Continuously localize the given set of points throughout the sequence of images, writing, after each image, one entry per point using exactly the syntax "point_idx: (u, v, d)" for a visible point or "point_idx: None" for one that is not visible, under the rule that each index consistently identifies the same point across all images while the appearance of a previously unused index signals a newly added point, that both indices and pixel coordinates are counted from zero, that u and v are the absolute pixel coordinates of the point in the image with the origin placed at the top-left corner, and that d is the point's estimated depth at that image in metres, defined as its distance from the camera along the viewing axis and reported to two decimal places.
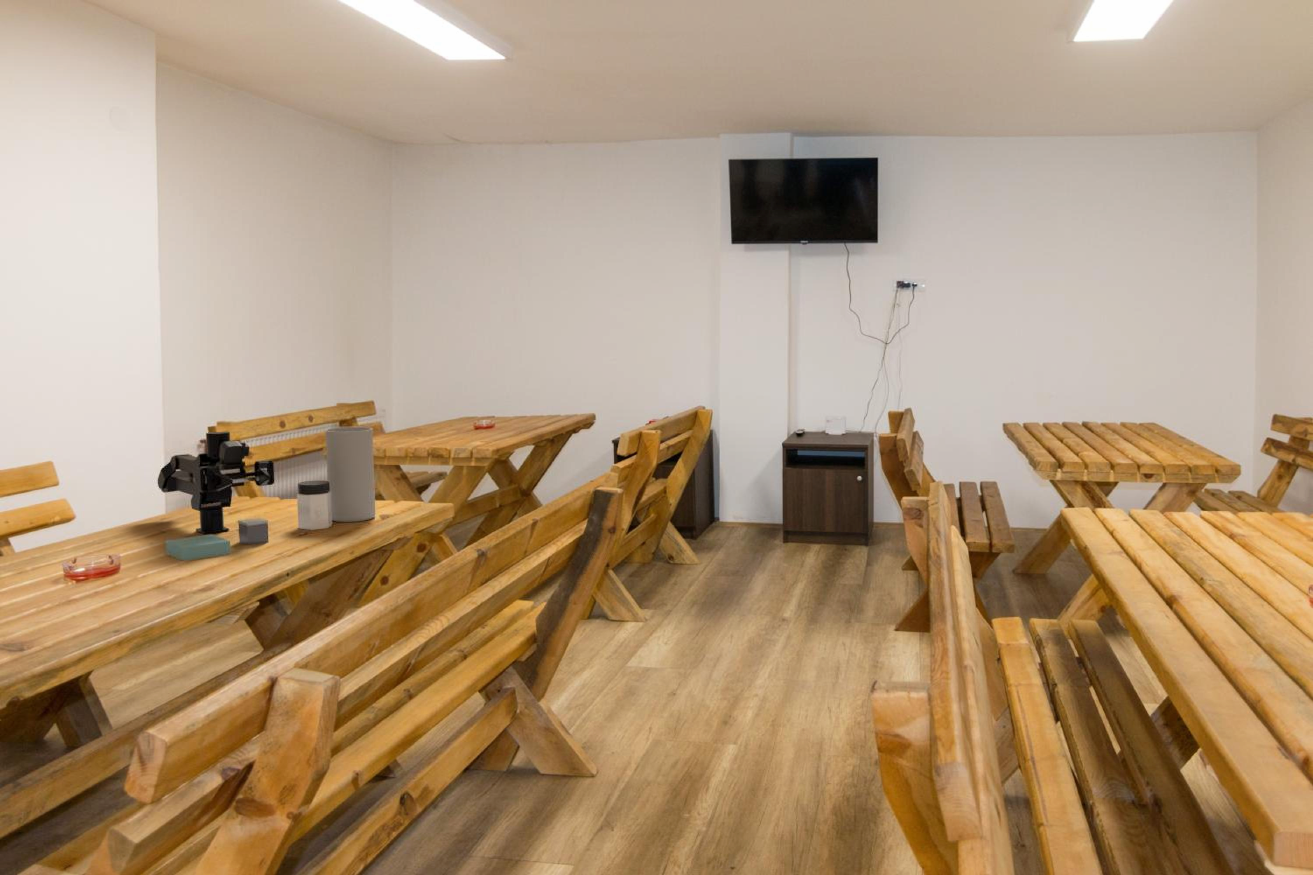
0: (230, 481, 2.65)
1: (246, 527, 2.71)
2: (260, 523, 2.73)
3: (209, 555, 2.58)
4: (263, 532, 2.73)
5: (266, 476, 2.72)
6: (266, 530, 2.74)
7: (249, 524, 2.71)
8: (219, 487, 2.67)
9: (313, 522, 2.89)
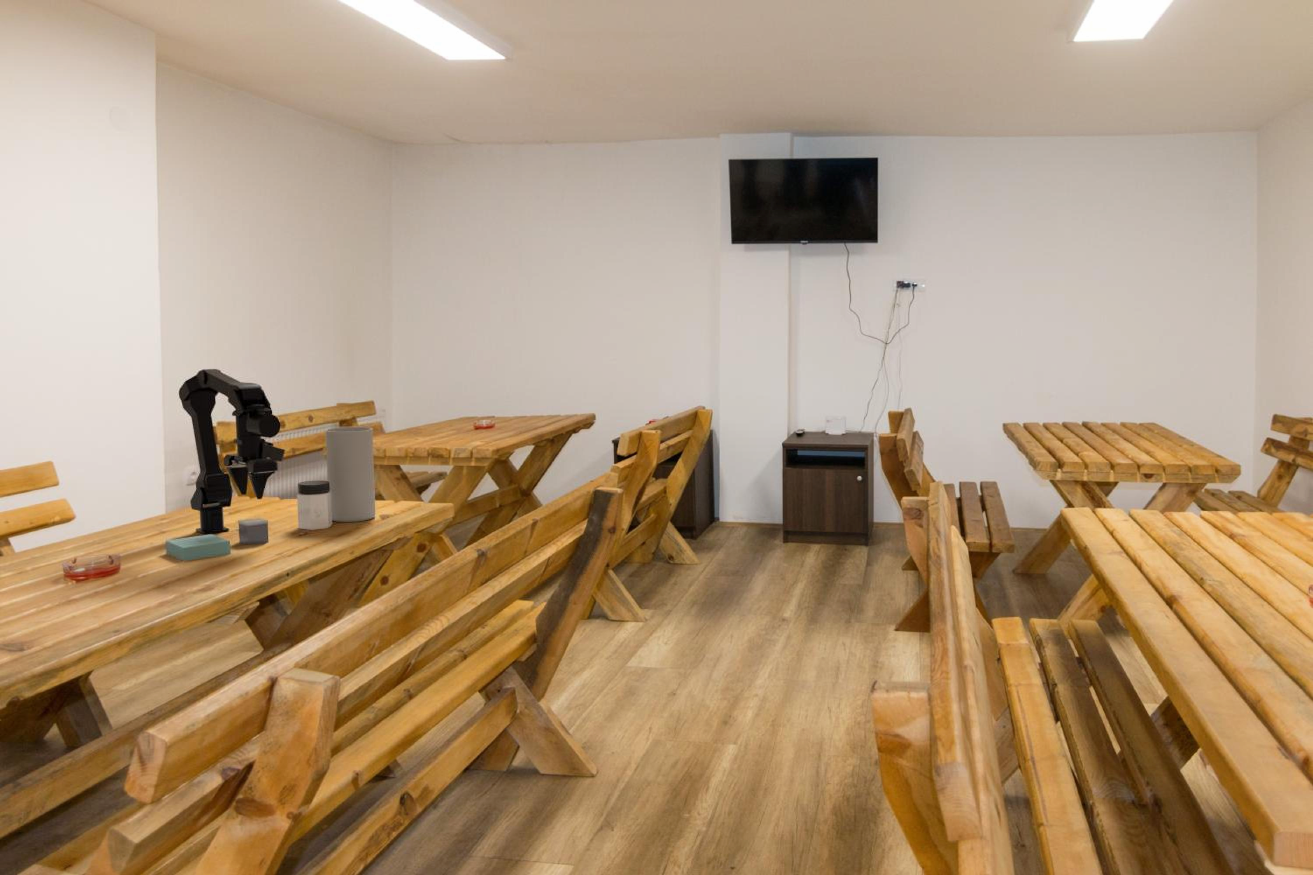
0: (260, 498, 2.70)
1: (246, 527, 2.71)
2: (260, 523, 2.73)
3: (209, 555, 2.58)
4: (263, 532, 2.73)
5: (245, 491, 2.76)
6: (266, 530, 2.74)
7: (249, 524, 2.71)
8: (254, 483, 2.67)
9: (313, 522, 2.89)
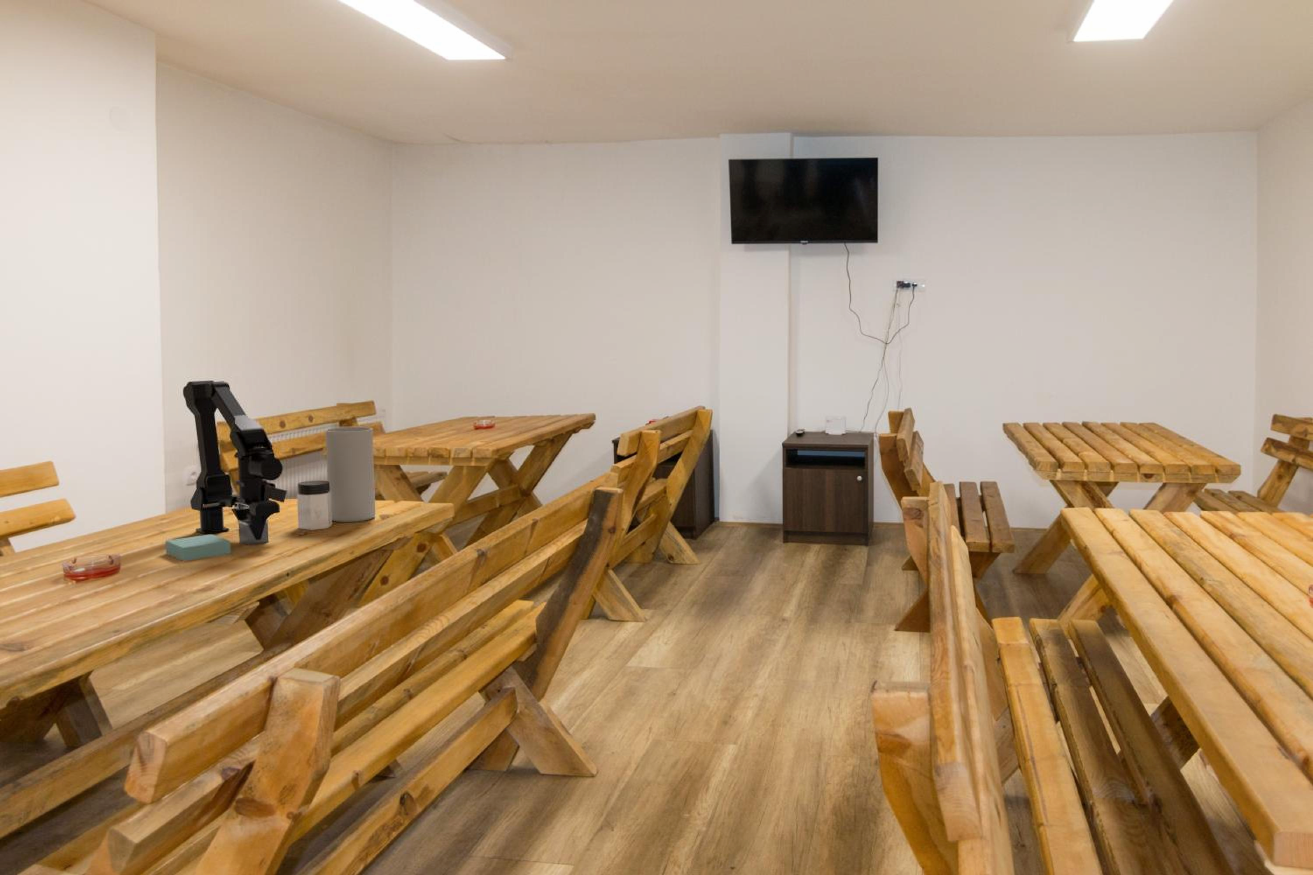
0: (259, 538, 2.72)
1: (246, 527, 2.71)
2: None
3: (209, 555, 2.58)
4: (263, 532, 2.73)
5: None
6: (266, 530, 2.74)
7: (249, 524, 2.71)
8: (253, 524, 2.70)
9: (313, 522, 2.89)
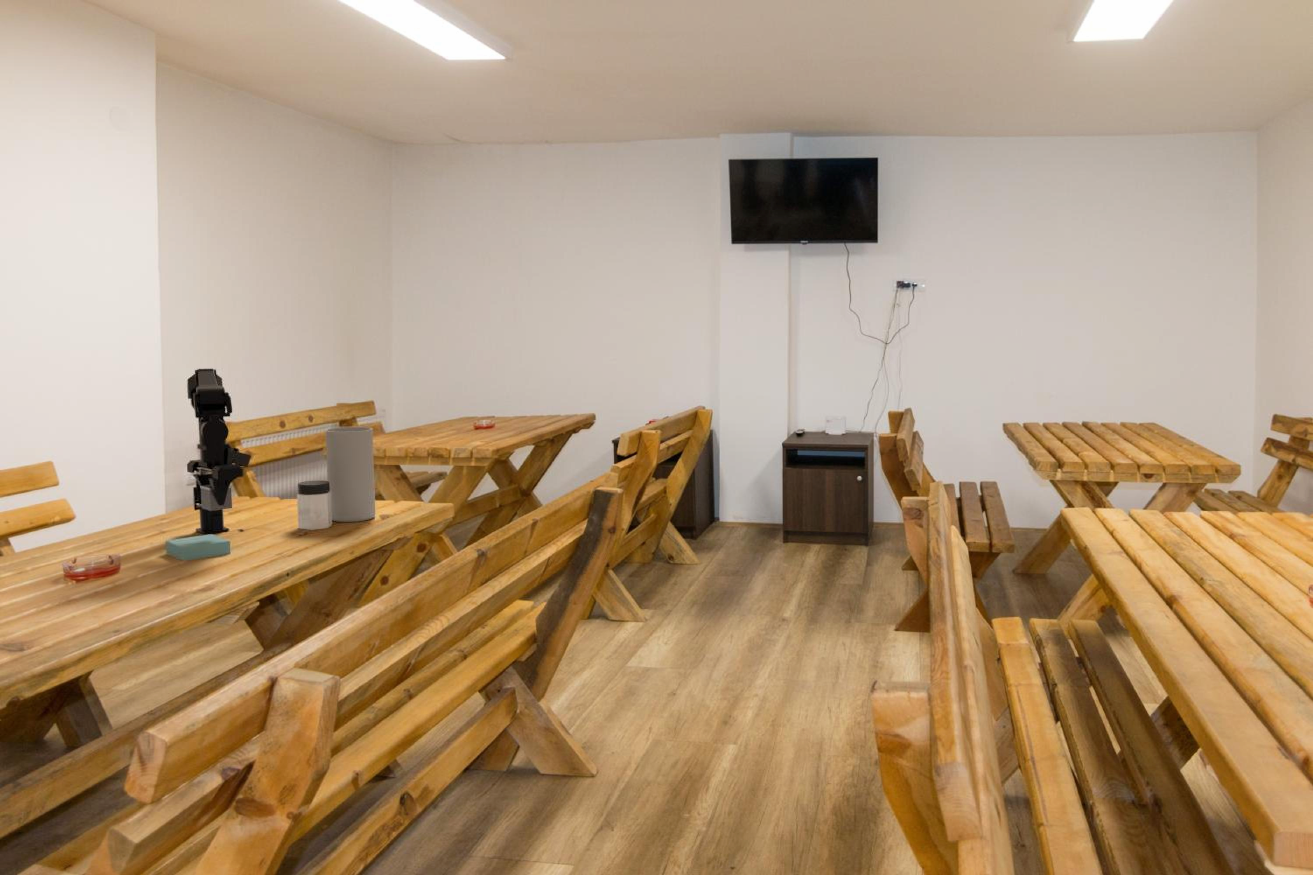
0: (222, 504, 2.63)
1: (208, 492, 2.61)
2: None
3: (209, 555, 2.58)
4: (226, 497, 2.64)
5: None
6: (229, 495, 2.64)
7: None
8: (216, 489, 2.60)
9: (313, 522, 2.89)
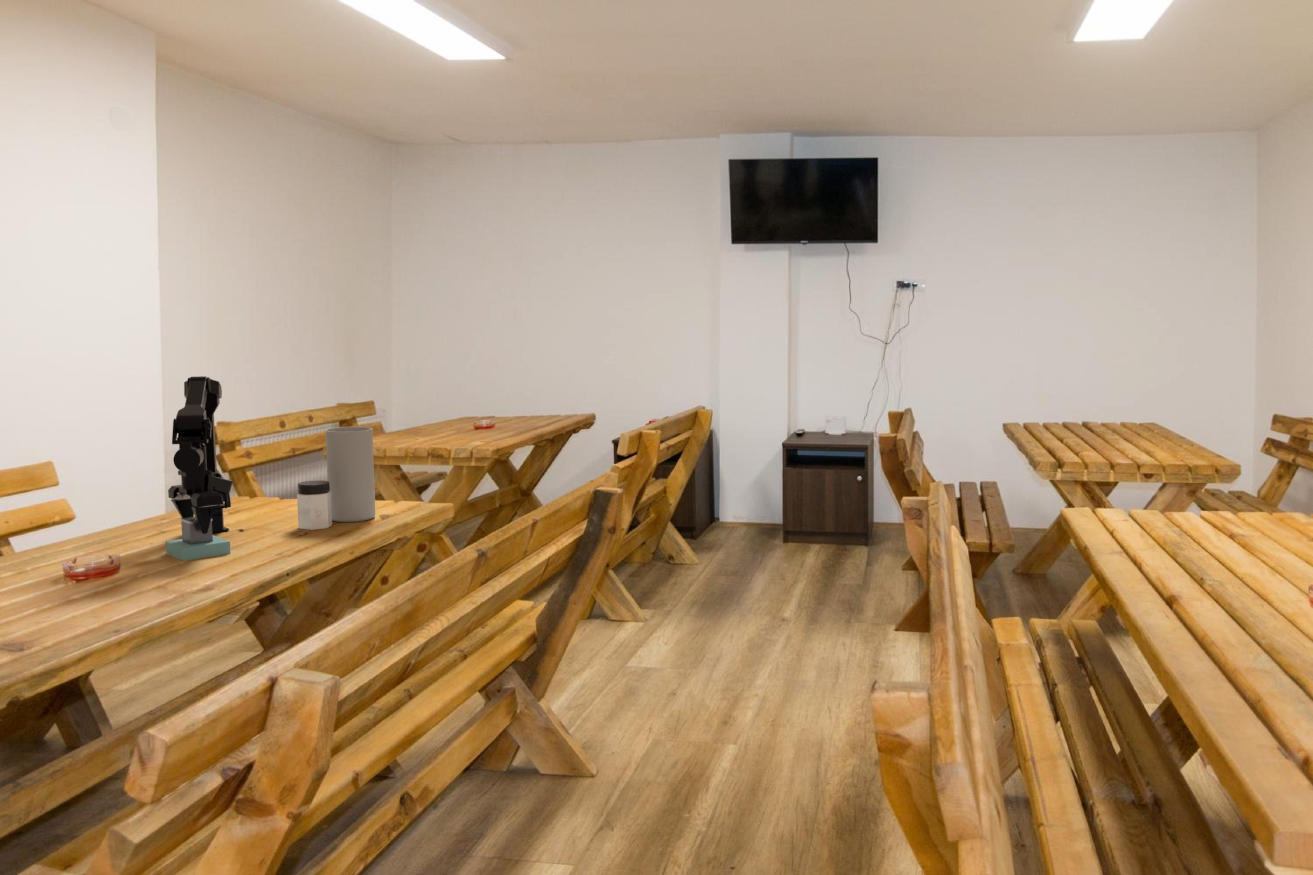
0: (205, 532, 2.58)
1: (188, 525, 2.58)
2: None
3: (209, 556, 2.58)
4: None
5: None
6: (210, 529, 2.61)
7: (192, 522, 2.58)
8: (198, 517, 2.55)
9: (313, 522, 2.89)
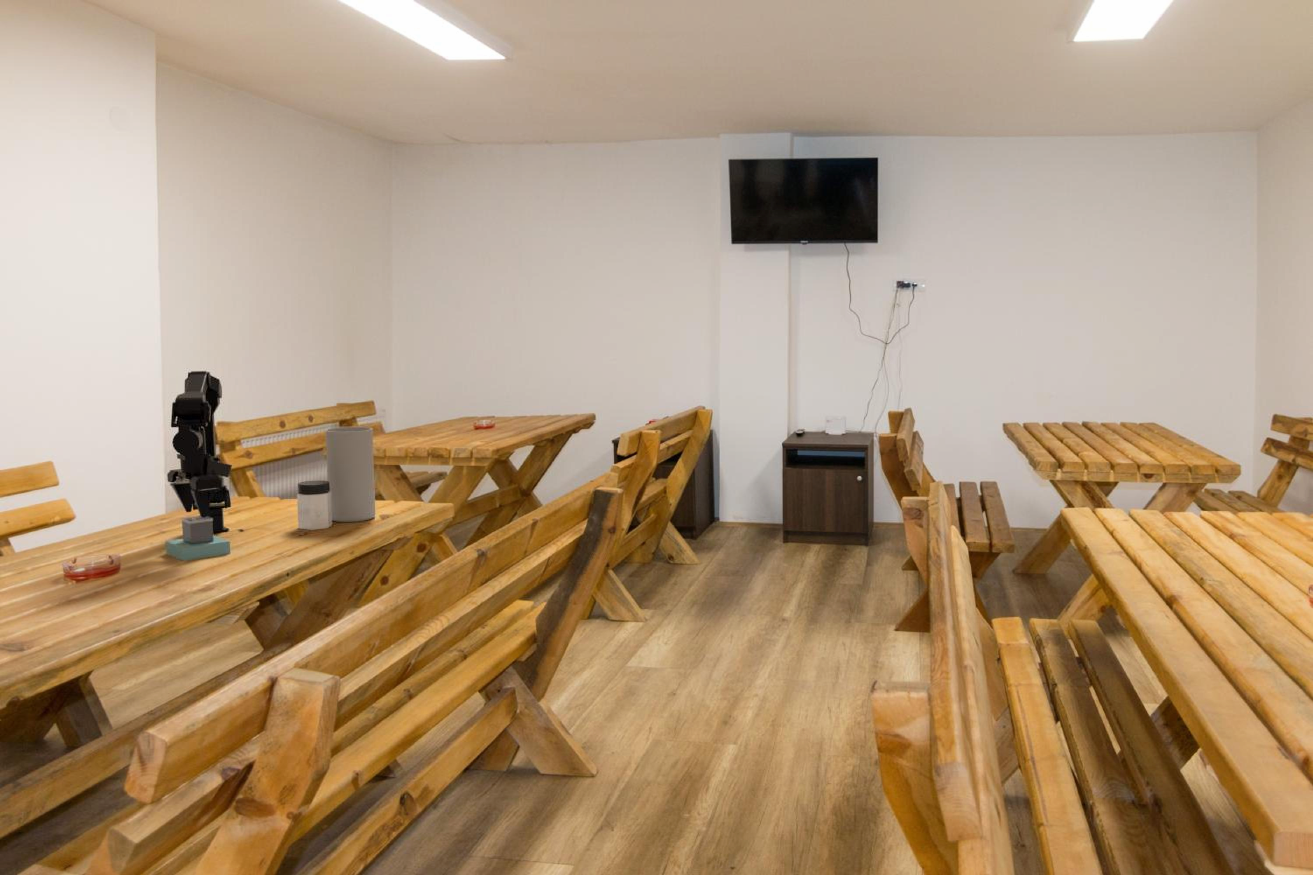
0: (204, 516, 2.57)
1: (189, 525, 2.58)
2: (204, 521, 2.59)
3: (209, 555, 2.58)
4: (207, 530, 2.60)
5: (189, 508, 2.64)
6: (211, 528, 2.61)
7: (192, 522, 2.57)
8: (197, 501, 2.55)
9: (313, 522, 2.89)
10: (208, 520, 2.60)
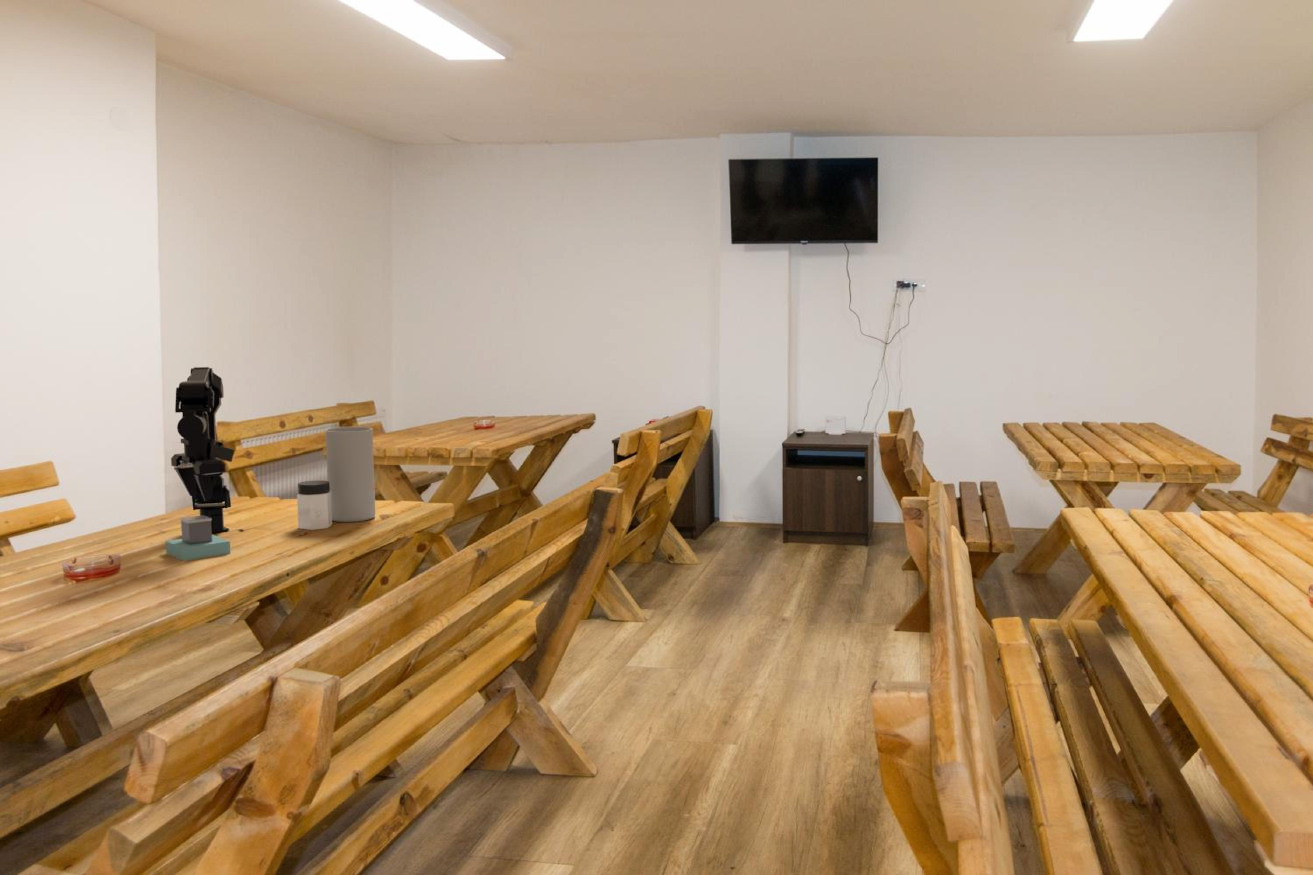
0: (208, 499, 2.61)
1: (187, 525, 2.58)
2: (203, 521, 2.60)
3: (209, 555, 2.59)
4: (206, 530, 2.60)
5: (193, 492, 2.68)
6: (209, 528, 2.61)
7: (190, 522, 2.58)
8: (201, 485, 2.59)
9: (313, 522, 2.89)
10: (207, 520, 2.60)
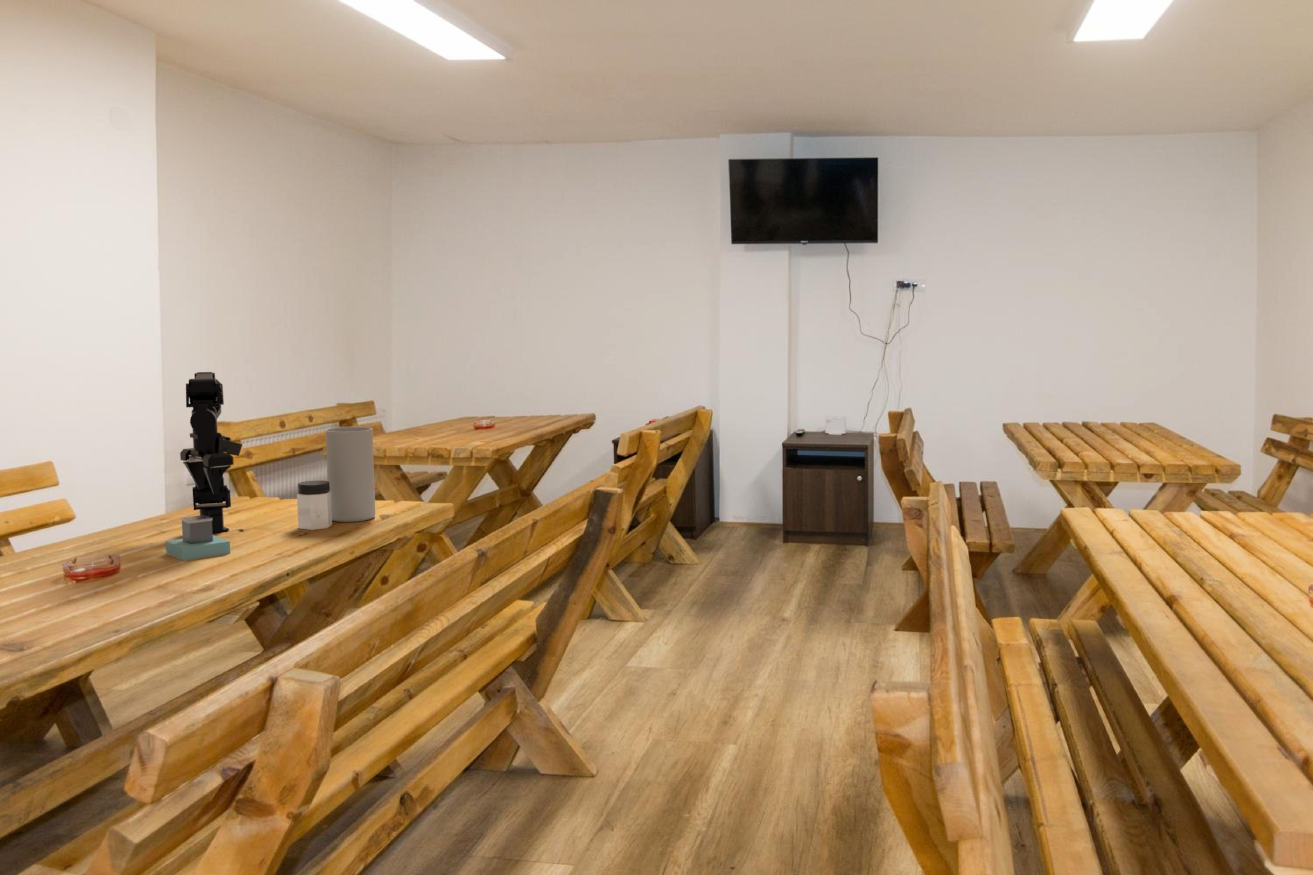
0: (216, 492, 2.69)
1: (188, 525, 2.58)
2: (204, 521, 2.60)
3: (209, 555, 2.59)
4: (207, 530, 2.61)
5: (201, 486, 2.76)
6: (210, 528, 2.61)
7: (191, 522, 2.58)
8: (210, 478, 2.66)
9: (313, 522, 2.89)
10: (207, 520, 2.61)
